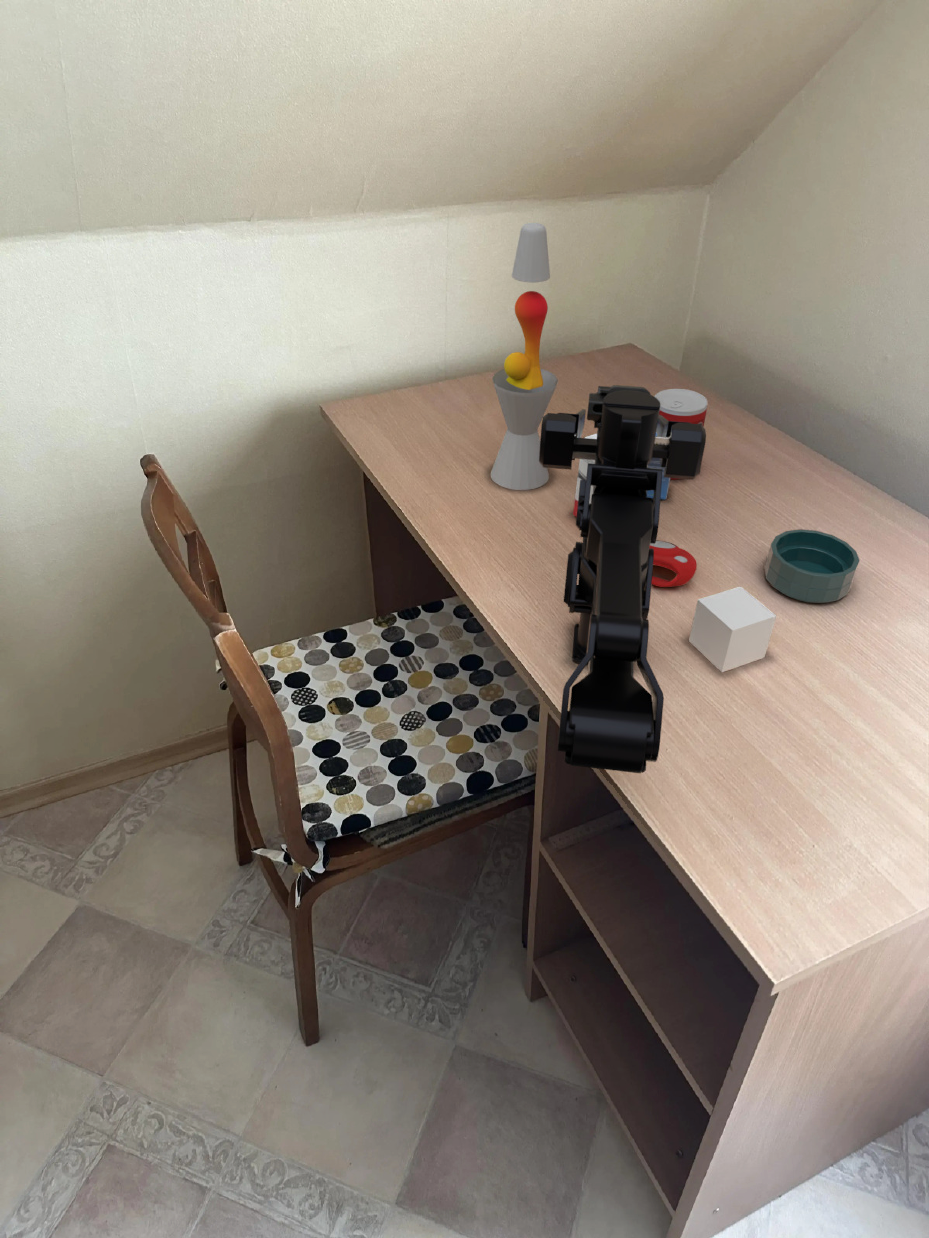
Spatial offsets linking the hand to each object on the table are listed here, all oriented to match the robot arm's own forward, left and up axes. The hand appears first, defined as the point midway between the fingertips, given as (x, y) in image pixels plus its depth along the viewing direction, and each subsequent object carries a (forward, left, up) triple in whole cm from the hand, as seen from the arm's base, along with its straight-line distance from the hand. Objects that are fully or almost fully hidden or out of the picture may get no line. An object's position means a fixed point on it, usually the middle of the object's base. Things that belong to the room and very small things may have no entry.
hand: (621, 415), depth 111 cm
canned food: (+19, -9, -17) cm, 27 cm away
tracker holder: (-8, -5, -17) cm, 19 cm away
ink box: (+4, 0, -17) cm, 17 cm away
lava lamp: (+13, +13, -17) cm, 25 cm away
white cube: (-23, -14, -17) cm, 32 cm away
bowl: (-8, -25, -16) cm, 31 cm away
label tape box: (+11, -4, -17) cm, 20 cm away
